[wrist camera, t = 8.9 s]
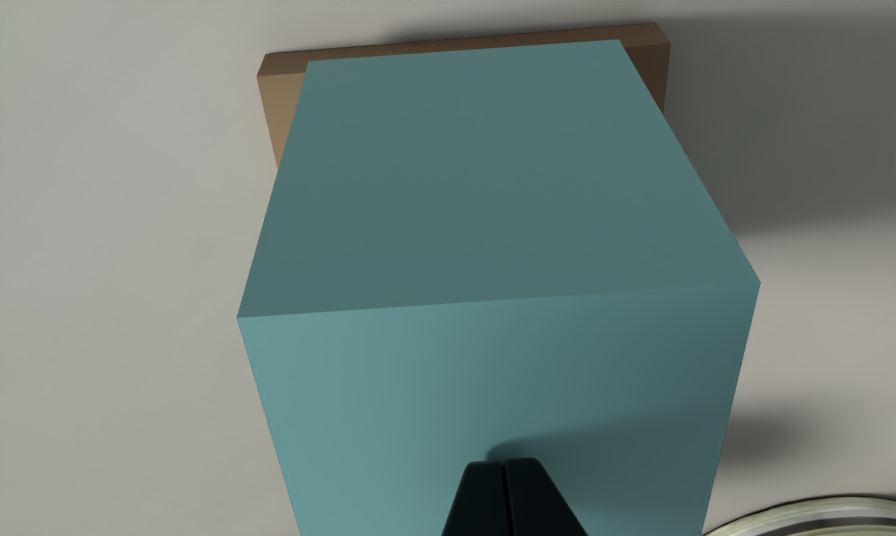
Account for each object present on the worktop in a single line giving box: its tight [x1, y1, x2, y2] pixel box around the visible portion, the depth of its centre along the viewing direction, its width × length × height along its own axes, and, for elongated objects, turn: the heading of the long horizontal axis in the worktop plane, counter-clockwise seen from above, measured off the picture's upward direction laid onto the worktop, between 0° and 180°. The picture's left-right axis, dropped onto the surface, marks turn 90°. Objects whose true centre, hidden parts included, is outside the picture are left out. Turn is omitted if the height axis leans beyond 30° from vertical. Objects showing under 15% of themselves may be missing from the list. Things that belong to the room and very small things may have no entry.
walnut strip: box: [257, 23, 670, 169], centre depth 18 cm, size 14×7×1 cm, turn 4°
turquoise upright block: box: [237, 39, 761, 536], centre depth 12 cm, size 5×5×7 cm
